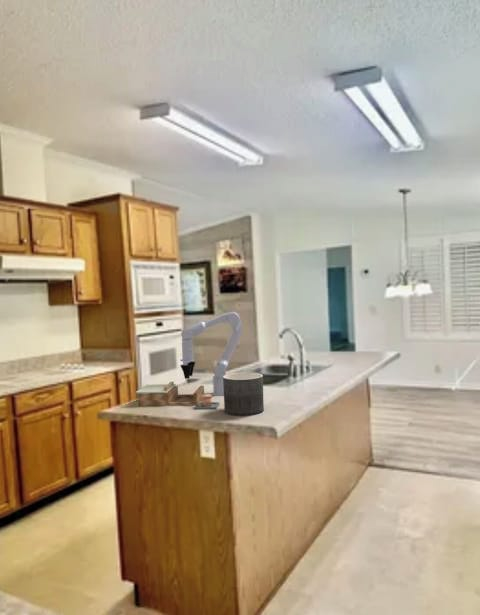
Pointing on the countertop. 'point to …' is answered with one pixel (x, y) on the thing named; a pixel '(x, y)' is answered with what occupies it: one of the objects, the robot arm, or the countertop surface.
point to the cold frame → (170, 398)
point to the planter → (243, 393)
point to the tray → (214, 406)
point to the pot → (206, 400)
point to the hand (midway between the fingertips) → (188, 377)
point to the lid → (157, 388)
